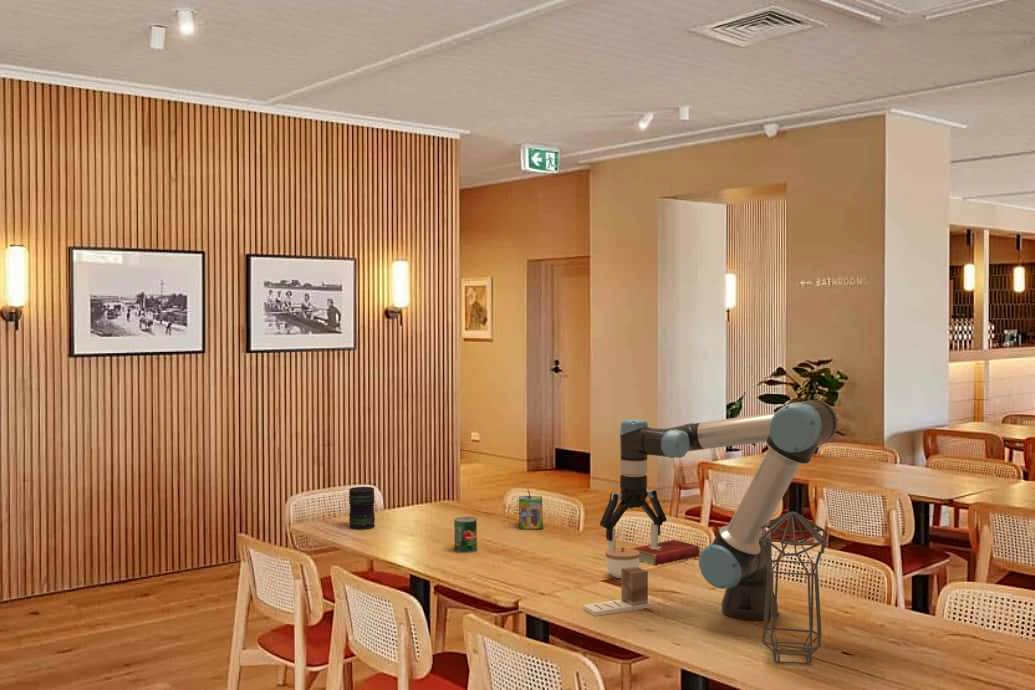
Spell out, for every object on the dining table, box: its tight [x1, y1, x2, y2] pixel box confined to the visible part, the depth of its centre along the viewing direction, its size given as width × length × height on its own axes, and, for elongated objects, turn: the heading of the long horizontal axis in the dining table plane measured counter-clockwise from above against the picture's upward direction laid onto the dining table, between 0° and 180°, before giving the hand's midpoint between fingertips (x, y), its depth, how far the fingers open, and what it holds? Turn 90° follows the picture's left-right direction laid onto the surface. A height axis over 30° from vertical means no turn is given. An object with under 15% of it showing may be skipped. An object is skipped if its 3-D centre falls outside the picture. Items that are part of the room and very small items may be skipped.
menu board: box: [582, 599, 653, 617], centre depth 277 cm, size 7×18×1 cm, turn 114°
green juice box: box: [518, 488, 544, 531], centre depth 383 cm, size 9×9×15 cm
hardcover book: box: [629, 538, 701, 566], centre depth 334 cm, size 12×21×4 cm, turn 126°
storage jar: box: [348, 486, 376, 531], centre depth 386 cm, size 10×10×15 cm
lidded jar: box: [605, 546, 641, 579], centre depth 310 cm, size 11×11×9 cm
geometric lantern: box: [759, 511, 829, 665], centre depth 235 cm, size 16×16×35 cm
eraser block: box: [620, 566, 649, 606], centre depth 279 cm, size 6×5×9 cm
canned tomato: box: [453, 516, 478, 554], centre depth 346 cm, size 8×8×11 cm
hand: (633, 549), depth 278 cm, fingers open, 13 cm apart
